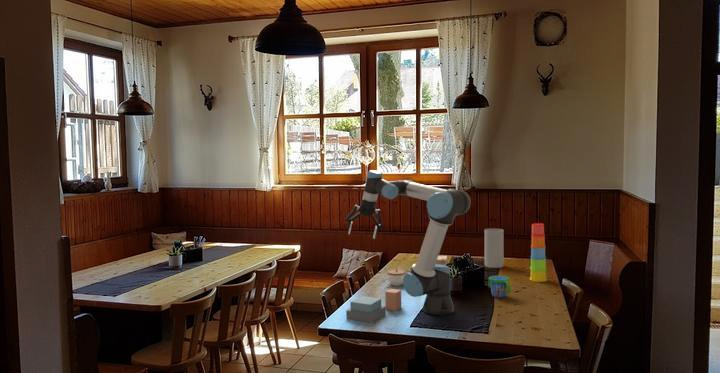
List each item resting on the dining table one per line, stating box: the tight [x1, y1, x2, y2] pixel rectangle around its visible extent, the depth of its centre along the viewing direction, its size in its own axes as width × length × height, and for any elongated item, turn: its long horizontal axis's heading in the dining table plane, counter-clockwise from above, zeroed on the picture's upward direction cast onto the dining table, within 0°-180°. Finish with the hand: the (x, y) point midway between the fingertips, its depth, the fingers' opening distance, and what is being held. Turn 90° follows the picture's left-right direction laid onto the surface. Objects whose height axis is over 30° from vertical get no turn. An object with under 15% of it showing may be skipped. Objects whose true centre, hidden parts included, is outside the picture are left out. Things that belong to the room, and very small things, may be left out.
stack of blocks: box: [436, 255, 449, 266], centre depth 339 cm, size 21×6×12 cm, turn 168°
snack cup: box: [487, 275, 511, 298], centre depth 288 cm, size 16×10×10 cm
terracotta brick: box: [384, 288, 402, 311], centre depth 270 cm, size 6×6×9 cm
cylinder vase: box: [484, 228, 505, 269], centre depth 360 cm, size 12×12×25 cm
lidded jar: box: [387, 268, 407, 287], centre depth 317 cm, size 11×11×9 cm
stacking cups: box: [529, 222, 548, 283], centre depth 321 cm, size 10×10×35 cm
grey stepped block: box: [345, 295, 387, 324], centre depth 257 cm, size 14×14×8 cm
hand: (361, 235), depth 285 cm, fingers open, 13 cm apart
